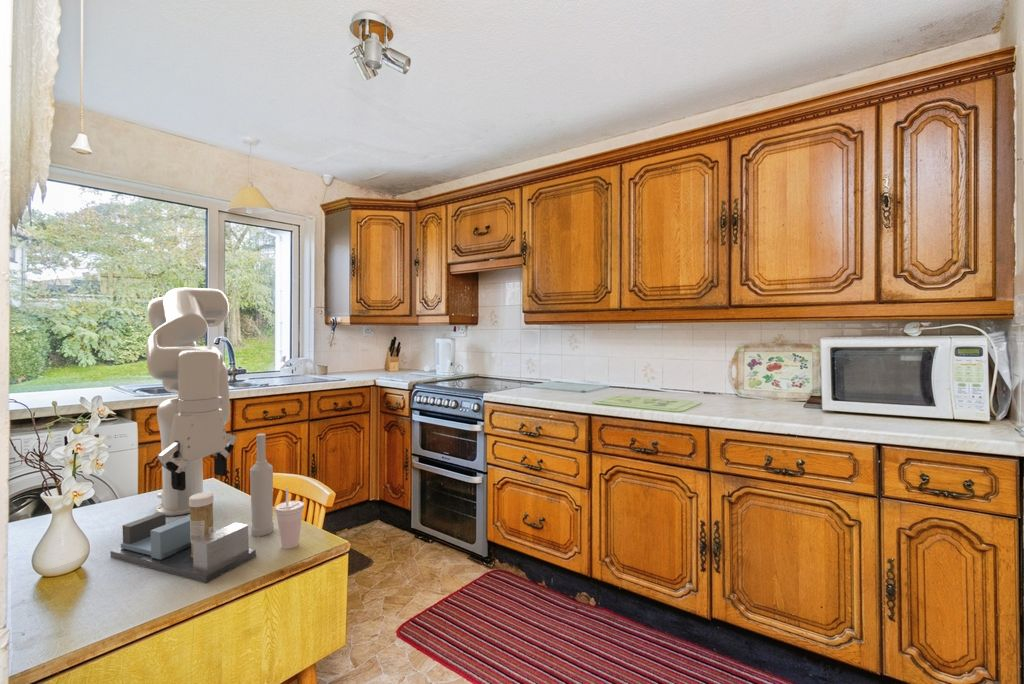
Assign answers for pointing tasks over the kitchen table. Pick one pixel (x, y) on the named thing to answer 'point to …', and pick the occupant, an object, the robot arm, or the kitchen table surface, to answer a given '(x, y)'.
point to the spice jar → (200, 516)
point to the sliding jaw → (157, 536)
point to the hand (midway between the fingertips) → (200, 481)
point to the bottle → (261, 491)
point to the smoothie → (289, 522)
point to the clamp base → (179, 563)
